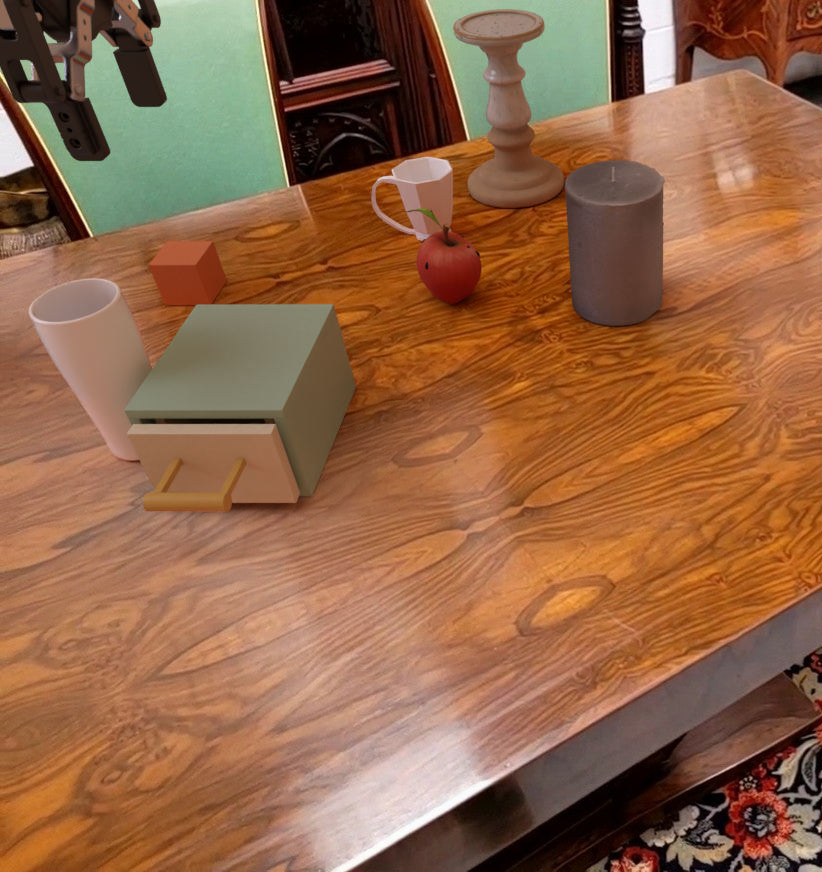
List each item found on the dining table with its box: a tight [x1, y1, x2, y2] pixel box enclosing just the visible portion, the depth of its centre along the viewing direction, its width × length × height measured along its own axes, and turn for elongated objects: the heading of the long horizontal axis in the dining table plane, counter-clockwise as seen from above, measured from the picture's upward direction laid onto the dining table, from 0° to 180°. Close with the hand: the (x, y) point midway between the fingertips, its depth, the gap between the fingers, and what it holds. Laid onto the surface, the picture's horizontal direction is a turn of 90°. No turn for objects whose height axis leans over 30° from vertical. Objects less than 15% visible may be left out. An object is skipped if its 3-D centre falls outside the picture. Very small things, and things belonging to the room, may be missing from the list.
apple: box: [402, 208, 482, 305], centre depth 97 cm, size 8×7×10 cm
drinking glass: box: [28, 277, 153, 462], centre depth 78 cm, size 7×7×15 cm
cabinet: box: [124, 303, 357, 497], centre depth 80 cm, size 15×12×9 cm
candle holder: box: [452, 8, 565, 209], centre depth 113 cm, size 12×12×20 cm
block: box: [148, 240, 228, 307], centre depth 100 cm, size 5×5×5 cm
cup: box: [370, 156, 454, 242], centre depth 108 cm, size 7×10×8 cm
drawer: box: [127, 419, 300, 513], centre depth 76 cm, size 19×11×7 cm, turn 179°
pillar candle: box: [564, 159, 666, 327], centre depth 94 cm, size 10×10×15 cm
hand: (123, 130), depth 61 cm, fingers open, 8 cm apart
